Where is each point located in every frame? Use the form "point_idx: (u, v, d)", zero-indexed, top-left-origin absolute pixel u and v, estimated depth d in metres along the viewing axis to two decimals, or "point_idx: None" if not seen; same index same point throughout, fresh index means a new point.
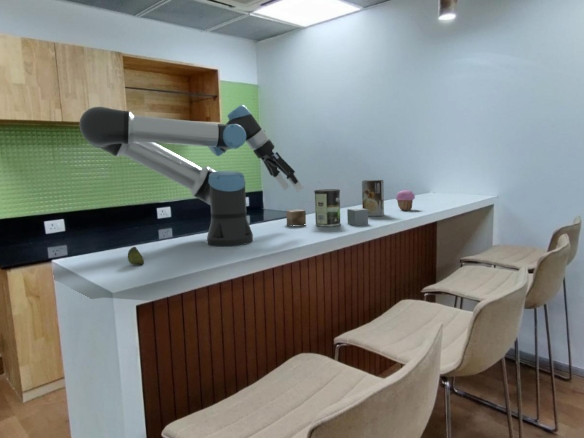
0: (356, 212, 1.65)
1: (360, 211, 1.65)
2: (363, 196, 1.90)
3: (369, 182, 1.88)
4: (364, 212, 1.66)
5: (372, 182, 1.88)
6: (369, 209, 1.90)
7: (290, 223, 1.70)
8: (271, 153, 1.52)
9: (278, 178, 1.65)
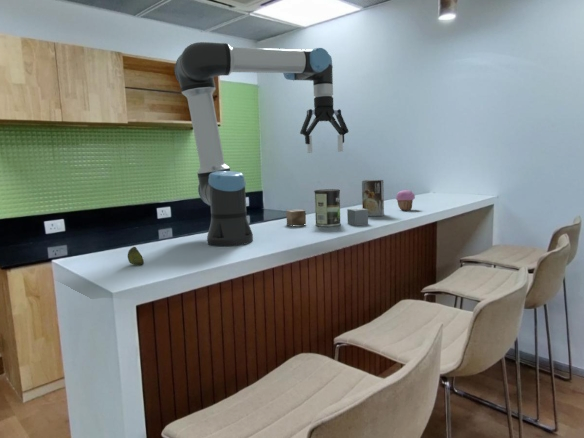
0: (356, 212, 1.65)
1: (360, 211, 1.65)
2: (363, 196, 1.90)
3: (369, 182, 1.88)
4: (364, 212, 1.66)
5: (372, 182, 1.88)
6: (369, 209, 1.90)
7: (290, 223, 1.70)
8: None
9: None
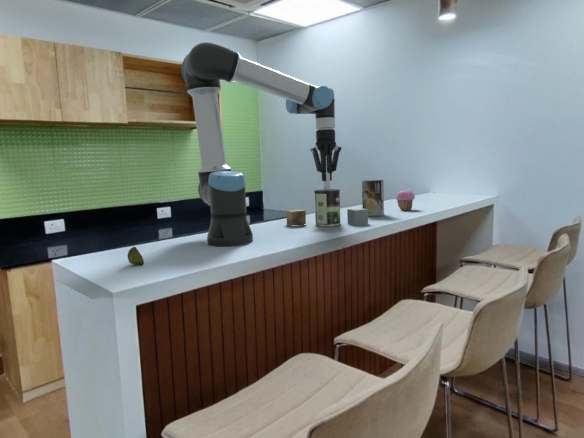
0: (356, 212, 1.65)
1: (360, 211, 1.65)
2: (363, 196, 1.90)
3: (369, 182, 1.88)
4: (364, 212, 1.66)
5: (372, 182, 1.88)
6: (369, 209, 1.90)
7: (290, 223, 1.70)
8: None
9: None
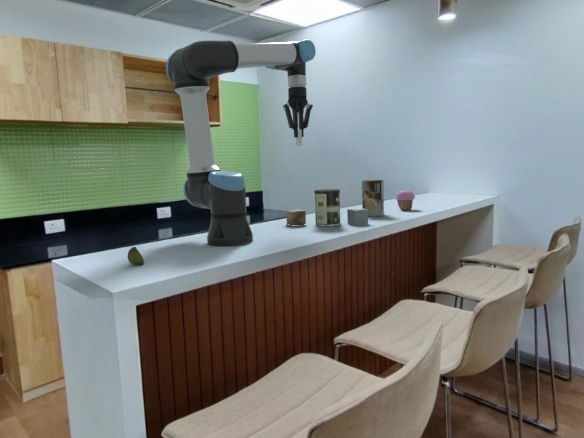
0: (356, 212, 1.65)
1: (360, 211, 1.65)
2: (363, 196, 1.90)
3: (369, 182, 1.88)
4: (364, 212, 1.66)
5: (372, 182, 1.88)
6: (369, 209, 1.90)
7: (290, 223, 1.70)
8: None
9: None
